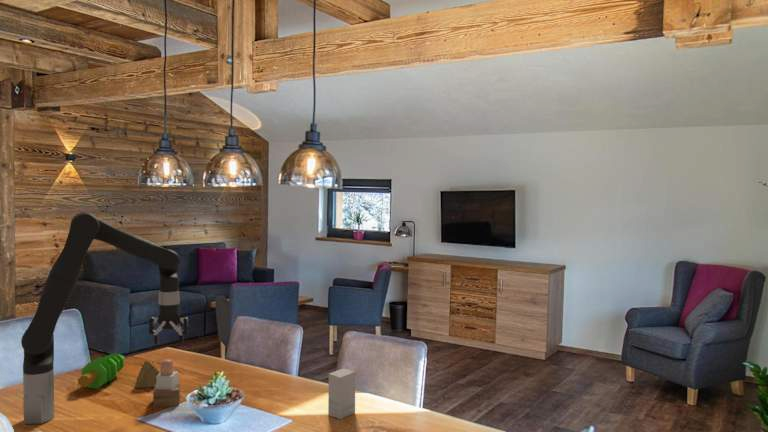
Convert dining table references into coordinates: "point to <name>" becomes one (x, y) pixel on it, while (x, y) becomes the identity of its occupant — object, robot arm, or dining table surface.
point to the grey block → (167, 381)
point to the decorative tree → (101, 371)
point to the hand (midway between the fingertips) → (169, 344)
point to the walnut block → (166, 397)
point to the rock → (147, 376)
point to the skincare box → (341, 393)
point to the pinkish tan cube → (166, 367)
